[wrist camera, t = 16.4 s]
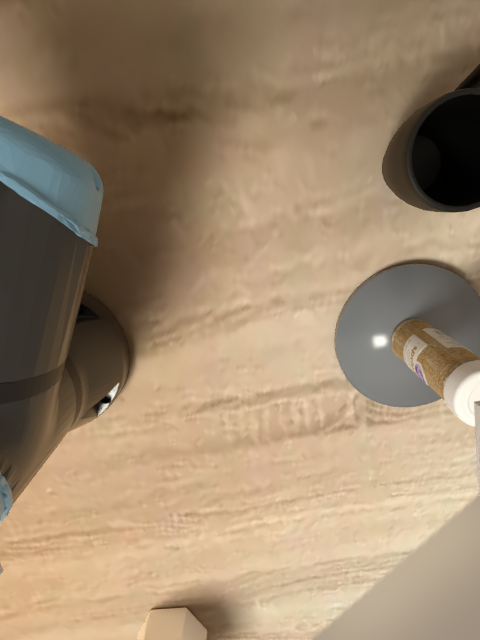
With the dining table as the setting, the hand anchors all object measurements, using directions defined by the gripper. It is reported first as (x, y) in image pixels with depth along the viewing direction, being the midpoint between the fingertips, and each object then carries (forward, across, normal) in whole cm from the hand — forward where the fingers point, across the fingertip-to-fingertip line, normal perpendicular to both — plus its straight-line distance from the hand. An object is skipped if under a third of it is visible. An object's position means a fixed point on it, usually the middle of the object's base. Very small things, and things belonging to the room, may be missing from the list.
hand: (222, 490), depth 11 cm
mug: (+32, +19, +9) cm, 38 cm away
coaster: (+32, +16, -9) cm, 37 cm away
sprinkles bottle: (+31, +16, -9) cm, 36 cm away
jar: (+32, -17, -43) cm, 56 cm away
